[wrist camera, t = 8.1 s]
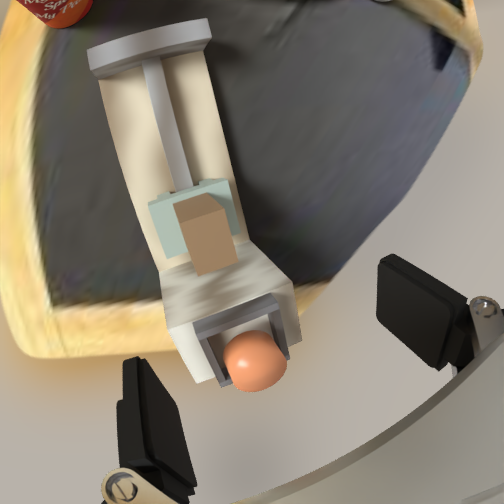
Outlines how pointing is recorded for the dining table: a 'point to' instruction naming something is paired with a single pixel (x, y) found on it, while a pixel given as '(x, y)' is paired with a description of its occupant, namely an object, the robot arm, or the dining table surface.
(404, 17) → the dining table surface
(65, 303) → the dining table surface
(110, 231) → the dining table surface
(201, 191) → the carriage
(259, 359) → the button
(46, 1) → the paper cup
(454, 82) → the dining table surface
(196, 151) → the track
